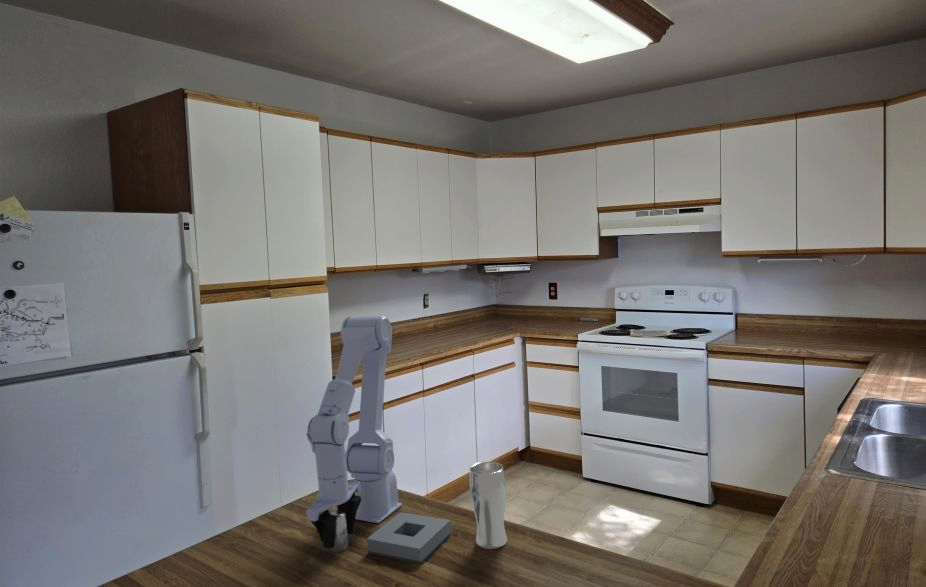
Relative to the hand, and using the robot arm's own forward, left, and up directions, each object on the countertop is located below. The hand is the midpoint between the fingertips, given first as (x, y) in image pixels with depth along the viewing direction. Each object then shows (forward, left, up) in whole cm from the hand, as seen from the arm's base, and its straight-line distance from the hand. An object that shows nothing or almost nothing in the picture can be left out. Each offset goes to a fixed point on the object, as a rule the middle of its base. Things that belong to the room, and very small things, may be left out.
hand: (338, 539), depth 125 cm
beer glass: (-12, +28, -2) cm, 31 cm away
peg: (0, 0, -2) cm, 2 cm away
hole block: (-6, +13, -2) cm, 14 cm away
